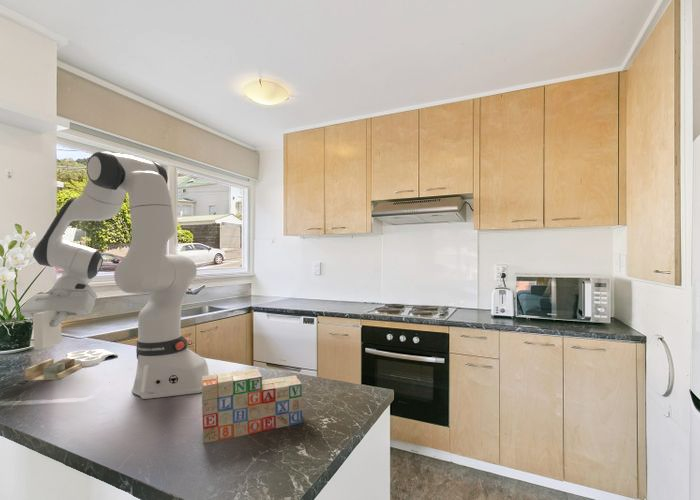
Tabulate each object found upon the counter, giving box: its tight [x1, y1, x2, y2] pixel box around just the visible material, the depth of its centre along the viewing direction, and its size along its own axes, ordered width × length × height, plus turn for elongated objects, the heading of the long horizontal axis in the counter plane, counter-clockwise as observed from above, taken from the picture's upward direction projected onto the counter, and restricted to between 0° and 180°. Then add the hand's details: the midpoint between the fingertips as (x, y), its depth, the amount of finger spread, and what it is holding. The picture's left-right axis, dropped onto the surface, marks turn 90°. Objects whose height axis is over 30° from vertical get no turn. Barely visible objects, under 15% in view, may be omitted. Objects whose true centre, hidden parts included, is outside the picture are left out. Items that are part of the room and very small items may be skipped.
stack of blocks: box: [201, 368, 303, 444], centre depth 80 cm, size 21×6×12 cm, turn 112°
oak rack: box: [24, 358, 83, 382], centre depth 113 cm, size 10×10×4 cm
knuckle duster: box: [65, 348, 119, 368], centre depth 127 cm, size 3×18×15 cm
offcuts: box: [43, 358, 75, 380], centre depth 113 cm, size 8×4×4 cm, turn 5°
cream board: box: [32, 311, 62, 351], centre depth 112 cm, size 8×2×11 cm, turn 5°
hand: (46, 326), depth 112 cm, fingers closed on cream board, 2 cm apart
